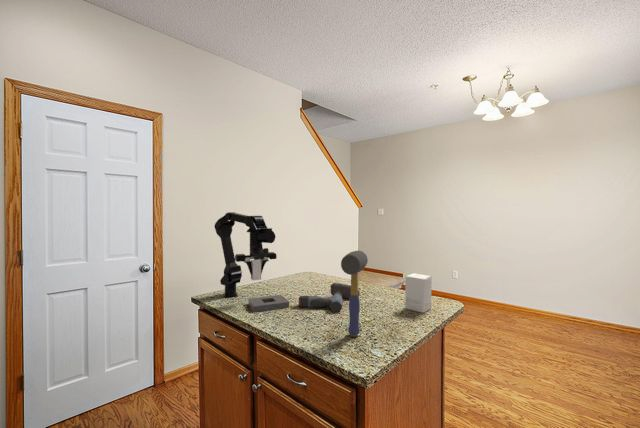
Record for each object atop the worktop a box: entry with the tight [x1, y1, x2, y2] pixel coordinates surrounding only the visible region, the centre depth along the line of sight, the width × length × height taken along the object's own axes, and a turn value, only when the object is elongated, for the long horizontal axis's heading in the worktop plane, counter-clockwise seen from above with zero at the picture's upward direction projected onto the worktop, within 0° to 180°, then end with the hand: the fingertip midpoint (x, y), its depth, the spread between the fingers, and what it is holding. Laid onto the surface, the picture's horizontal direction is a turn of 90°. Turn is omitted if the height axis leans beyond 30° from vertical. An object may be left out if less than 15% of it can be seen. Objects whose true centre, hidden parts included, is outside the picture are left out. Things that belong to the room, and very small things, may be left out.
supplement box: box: [404, 273, 432, 313], centre depth 132 cm, size 9×9×15 cm
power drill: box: [298, 292, 344, 313], centre depth 137 cm, size 5×19×20 cm
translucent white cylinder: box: [250, 259, 262, 281], centre depth 138 cm, size 4×4×9 cm
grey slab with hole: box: [248, 294, 290, 313], centre depth 134 cm, size 12×16×2 cm
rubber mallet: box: [340, 250, 369, 337], centre depth 103 cm, size 12×8×30 cm, turn 158°
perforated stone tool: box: [329, 282, 361, 299], centre depth 148 cm, size 15×5×7 cm, turn 68°
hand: (256, 274), depth 138 cm, fingers closed on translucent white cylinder, 4 cm apart
